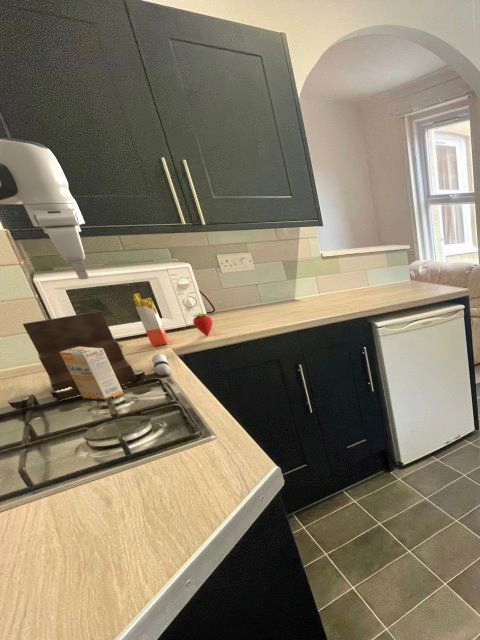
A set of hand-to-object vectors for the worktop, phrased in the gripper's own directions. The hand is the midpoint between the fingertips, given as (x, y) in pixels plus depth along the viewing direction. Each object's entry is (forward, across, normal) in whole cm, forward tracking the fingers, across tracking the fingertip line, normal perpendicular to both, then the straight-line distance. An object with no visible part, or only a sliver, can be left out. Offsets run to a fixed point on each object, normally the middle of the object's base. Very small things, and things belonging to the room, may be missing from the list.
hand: (83, 277), depth 104 cm
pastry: (+30, -46, -3) cm, 55 cm away
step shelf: (+30, -11, -7) cm, 33 cm away
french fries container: (+30, -44, +12) cm, 55 cm away
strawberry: (+30, -42, +26) cm, 58 cm away
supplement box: (+30, +3, -6) cm, 31 cm away
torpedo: (+30, -10, +8) cm, 33 cm away
